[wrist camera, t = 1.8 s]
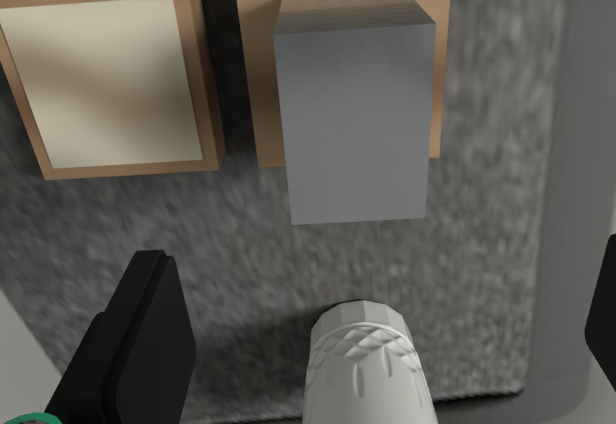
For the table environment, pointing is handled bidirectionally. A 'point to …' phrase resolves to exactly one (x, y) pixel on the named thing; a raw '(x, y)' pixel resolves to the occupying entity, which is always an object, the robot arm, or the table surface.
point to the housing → (355, 107)
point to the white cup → (365, 369)
